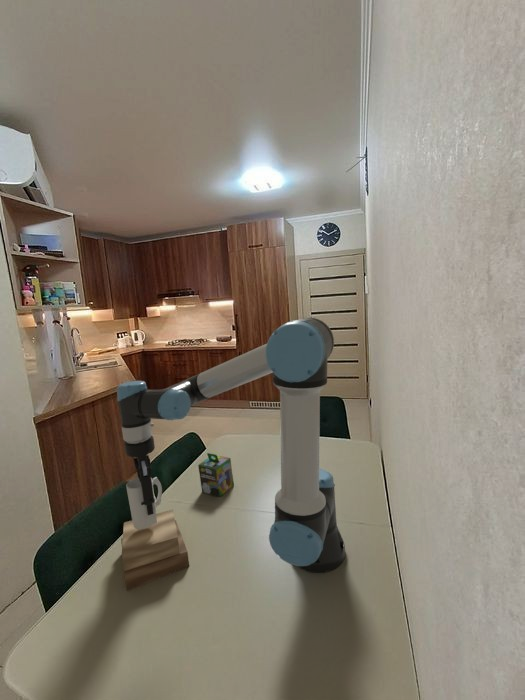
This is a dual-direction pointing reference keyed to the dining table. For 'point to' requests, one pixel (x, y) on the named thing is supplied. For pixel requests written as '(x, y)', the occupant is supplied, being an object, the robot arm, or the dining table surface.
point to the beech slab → (150, 541)
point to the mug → (137, 497)
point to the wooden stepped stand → (157, 566)
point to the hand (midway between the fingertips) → (149, 516)
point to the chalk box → (216, 475)
